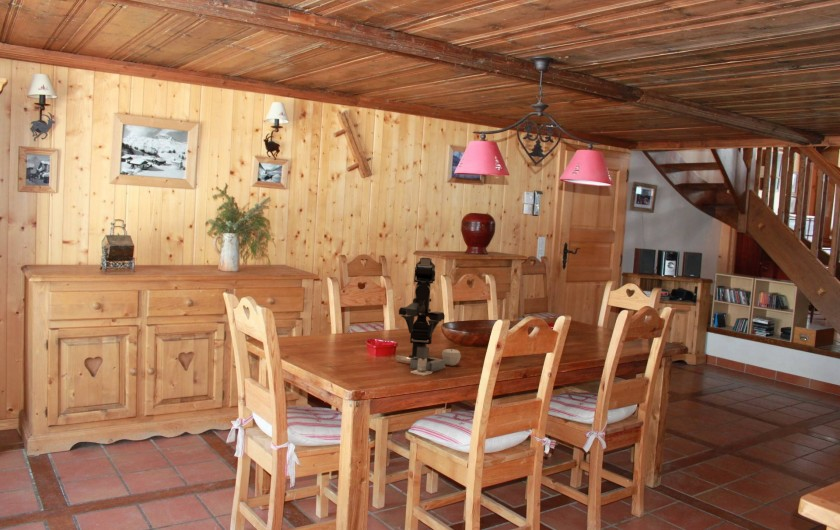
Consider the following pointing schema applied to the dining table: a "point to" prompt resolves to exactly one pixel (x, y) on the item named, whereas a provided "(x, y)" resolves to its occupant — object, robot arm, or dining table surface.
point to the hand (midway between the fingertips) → (420, 334)
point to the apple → (451, 356)
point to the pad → (421, 372)
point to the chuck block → (431, 365)
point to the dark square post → (422, 358)
